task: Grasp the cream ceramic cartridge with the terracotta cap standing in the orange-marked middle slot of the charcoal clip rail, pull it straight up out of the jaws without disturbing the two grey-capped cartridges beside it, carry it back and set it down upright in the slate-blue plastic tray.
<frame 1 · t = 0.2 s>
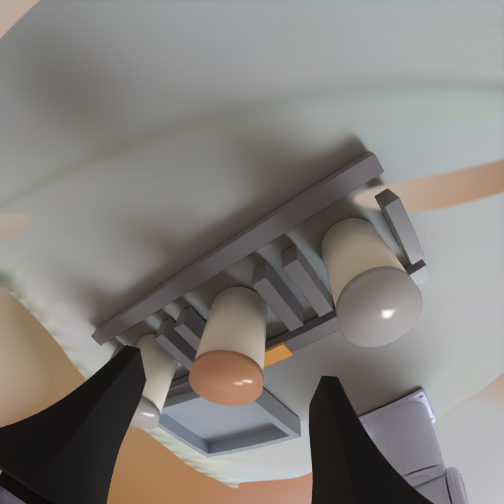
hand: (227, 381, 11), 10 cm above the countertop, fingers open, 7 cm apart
fuse b: (158, 351, 24), resting in clip rail
tray: (221, 412, 28), on the countertop
cream capsule cylinder: (351, 247, 19), resting in clip rail
clip rail: (239, 310, 21), on the countertop
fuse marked: (239, 310, 21), resting in clip rail
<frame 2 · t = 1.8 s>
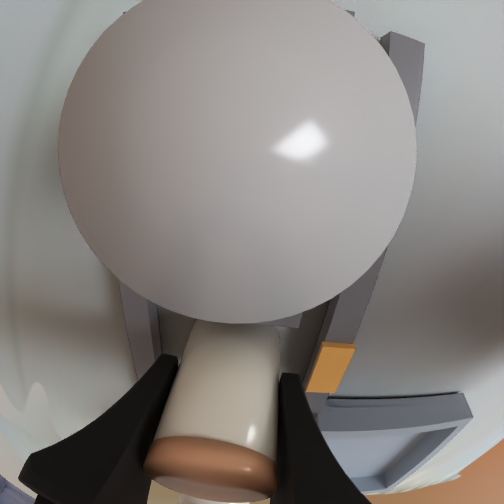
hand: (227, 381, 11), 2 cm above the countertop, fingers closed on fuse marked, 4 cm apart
tray: (362, 446, 17), on the countertop
cream capsule cylinder: (259, 127, 9), resting in clip rail
clip rail: (235, 341, 13), on the countertop
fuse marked: (235, 340, 13), resting in clip rail, touching gripper
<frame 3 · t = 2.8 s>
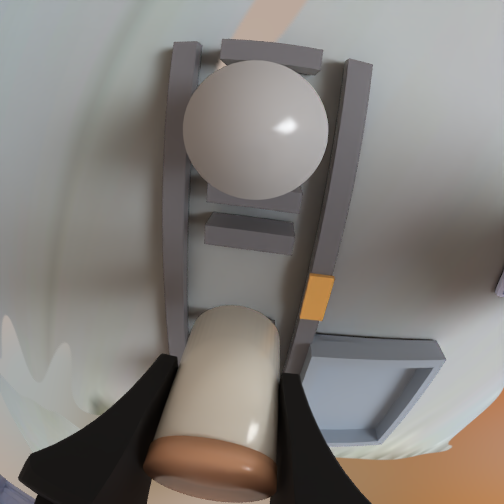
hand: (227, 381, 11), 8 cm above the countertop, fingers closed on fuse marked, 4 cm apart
tray: (352, 392, 22), on the countertop
cream capsule cylinder: (264, 123, 14), resting in clip rail
clip rail: (245, 278, 18), on the countertop
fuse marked: (235, 340, 13), point 5 cm above the countertop, touching gripper
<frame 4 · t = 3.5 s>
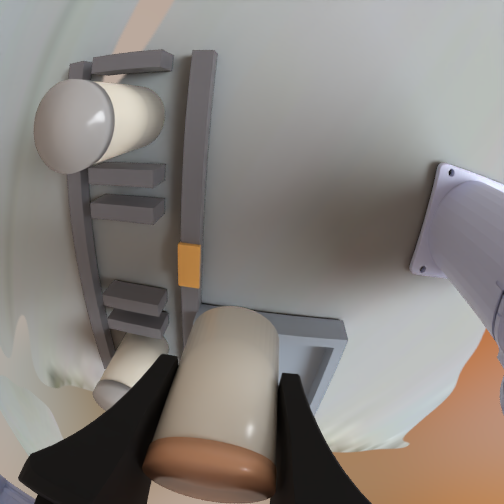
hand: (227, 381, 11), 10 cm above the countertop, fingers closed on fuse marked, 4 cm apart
fuse b: (147, 343, 24), resting in clip rail
tray: (261, 370, 24), on the countertop
cream capsule cylinder: (135, 117, 16), resting in clip rail
clip rail: (136, 249, 20), on the countertop
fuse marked: (234, 341, 13), point 7 cm above the countertop, touching gripper
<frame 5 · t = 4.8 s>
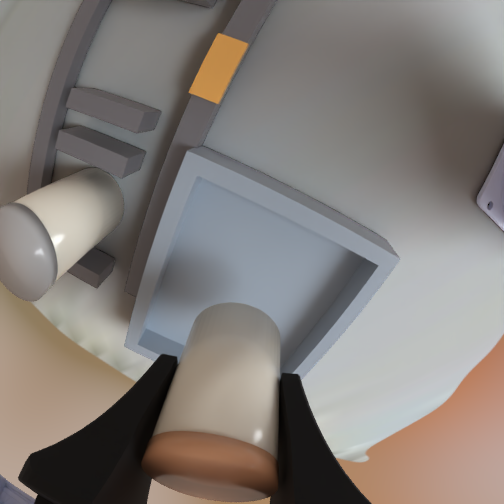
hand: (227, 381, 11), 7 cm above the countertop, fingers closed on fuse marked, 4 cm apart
fuse b: (94, 202, 15), resting in clip rail
tray: (245, 290, 17), on the countertop
clip rail: (147, 46, 11), on the countertop
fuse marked: (235, 338, 13), point 4 cm above the countertop, touching gripper
when the fingers open (4 cm above the countertop, at t = 5.6 s): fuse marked drops 1 cm, resting on tray.
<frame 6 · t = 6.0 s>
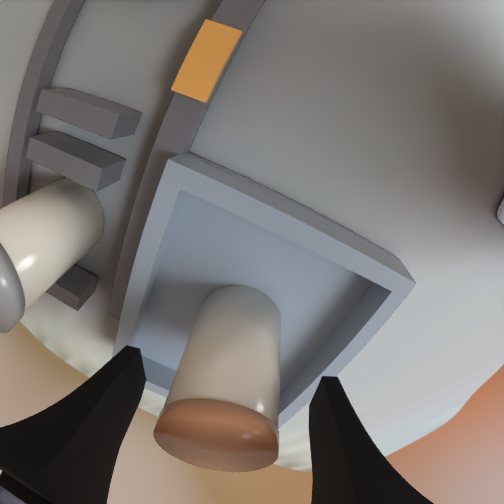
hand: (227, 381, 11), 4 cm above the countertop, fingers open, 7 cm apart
fuse b: (72, 215, 13), resting in clip rail
tray: (240, 314, 15), on the countertop
clip rail: (126, 39, 9), on the countertop
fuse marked: (239, 320, 14), point 1 cm above the countertop, touching tray
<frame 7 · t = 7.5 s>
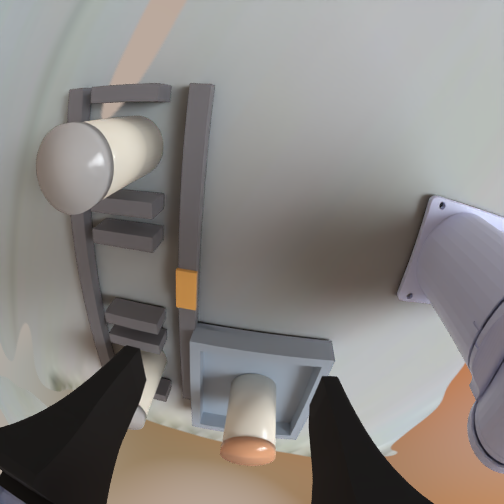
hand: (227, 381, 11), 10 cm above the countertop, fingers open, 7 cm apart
fuse b: (146, 355, 25), resting in clip rail
tray: (254, 383, 25), on the countertop
cream capsule cylinder: (134, 146, 17), resting in clip rail
clip rail: (136, 271, 21), on the countertop
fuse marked: (253, 387, 25), point 1 cm above the countertop, touching tray
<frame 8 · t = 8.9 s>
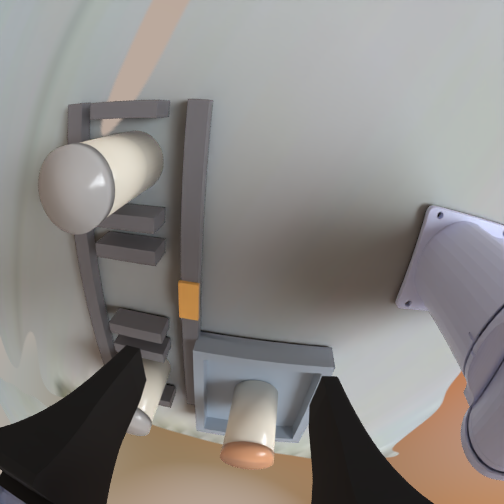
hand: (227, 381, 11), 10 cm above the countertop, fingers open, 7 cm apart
fuse b: (150, 363, 25), resting in clip rail
tray: (256, 388, 26), on the countertop
cream capsule cylinder: (134, 161, 17), resting in clip rail
clip rail: (139, 282, 21), on the countertop
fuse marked: (256, 393, 25), point 1 cm above the countertop, touching tray
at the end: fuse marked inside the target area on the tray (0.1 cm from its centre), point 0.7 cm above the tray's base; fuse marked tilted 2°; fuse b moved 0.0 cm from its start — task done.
